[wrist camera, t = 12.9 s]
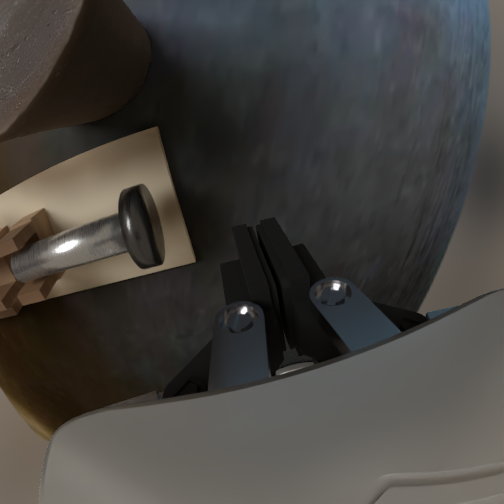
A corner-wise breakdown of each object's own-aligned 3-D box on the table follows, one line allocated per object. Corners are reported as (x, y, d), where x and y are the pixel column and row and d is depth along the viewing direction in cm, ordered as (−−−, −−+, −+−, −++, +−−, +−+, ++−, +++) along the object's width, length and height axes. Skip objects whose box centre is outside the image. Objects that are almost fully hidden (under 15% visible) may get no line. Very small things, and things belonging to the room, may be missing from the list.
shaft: (168, 241, 22) (160, 281, 17) (48, 275, 21) (23, 313, 16) (146, 174, 19) (128, 198, 14) (22, 222, 18) (-11, 253, 14)
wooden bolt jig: (195, 257, 26) (196, 302, 20) (-14, 311, 24) (-35, 344, 18) (157, 125, 19) (141, 133, 14) (-55, 233, 18) (-84, 259, 12)
